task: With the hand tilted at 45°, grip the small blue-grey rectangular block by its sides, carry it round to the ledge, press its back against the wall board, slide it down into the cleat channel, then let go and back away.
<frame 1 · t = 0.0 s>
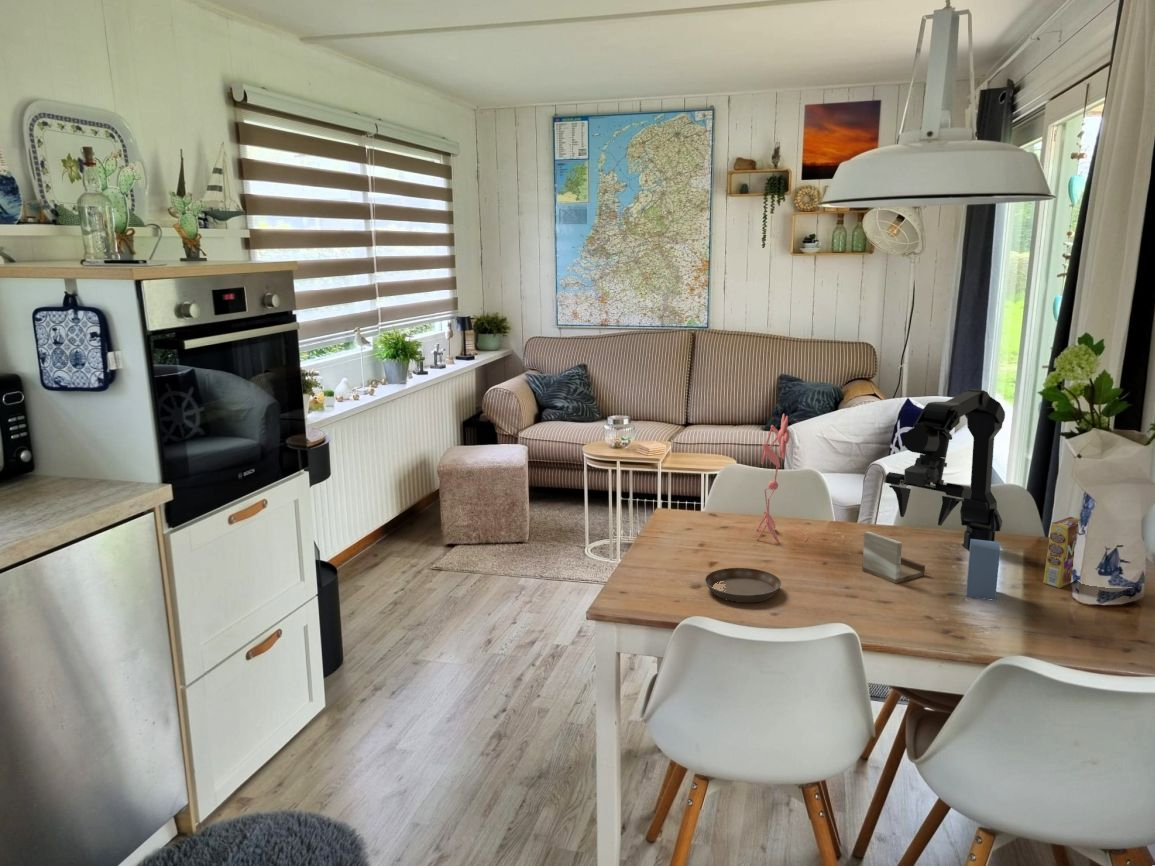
hand: (920, 521, 198), 15 cm above the table, tool pointing down, fingers open, 9 cm apart
candy box: (1061, 583, 200), on the table
wall board: (893, 572, 208), on the table
blue-grey rectangular block: (980, 593, 194), on the table
figurine: (781, 537, 236), on the table
plant saucer: (742, 592, 198), on the table
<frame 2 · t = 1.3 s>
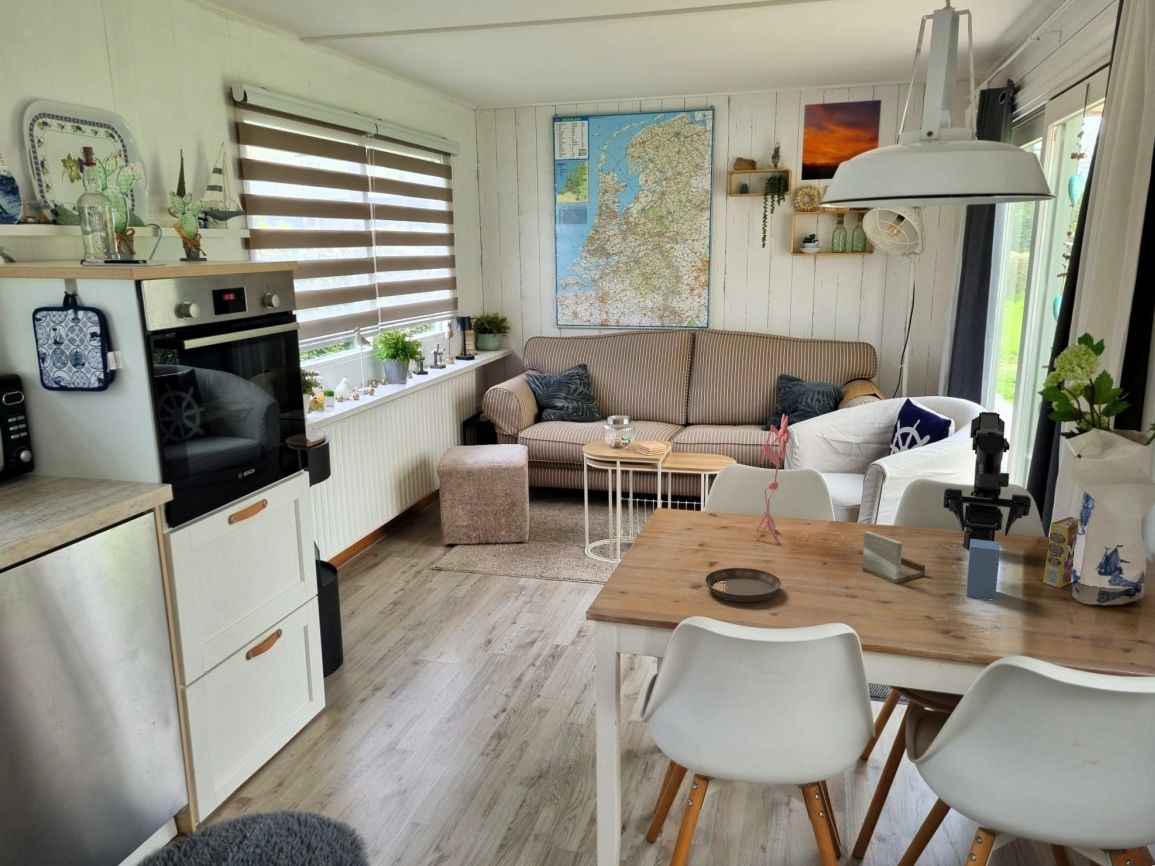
hand: (984, 532, 198), 12 cm above the table, tool tilted 45°, fingers open, 9 cm apart
nothing on the table moved.
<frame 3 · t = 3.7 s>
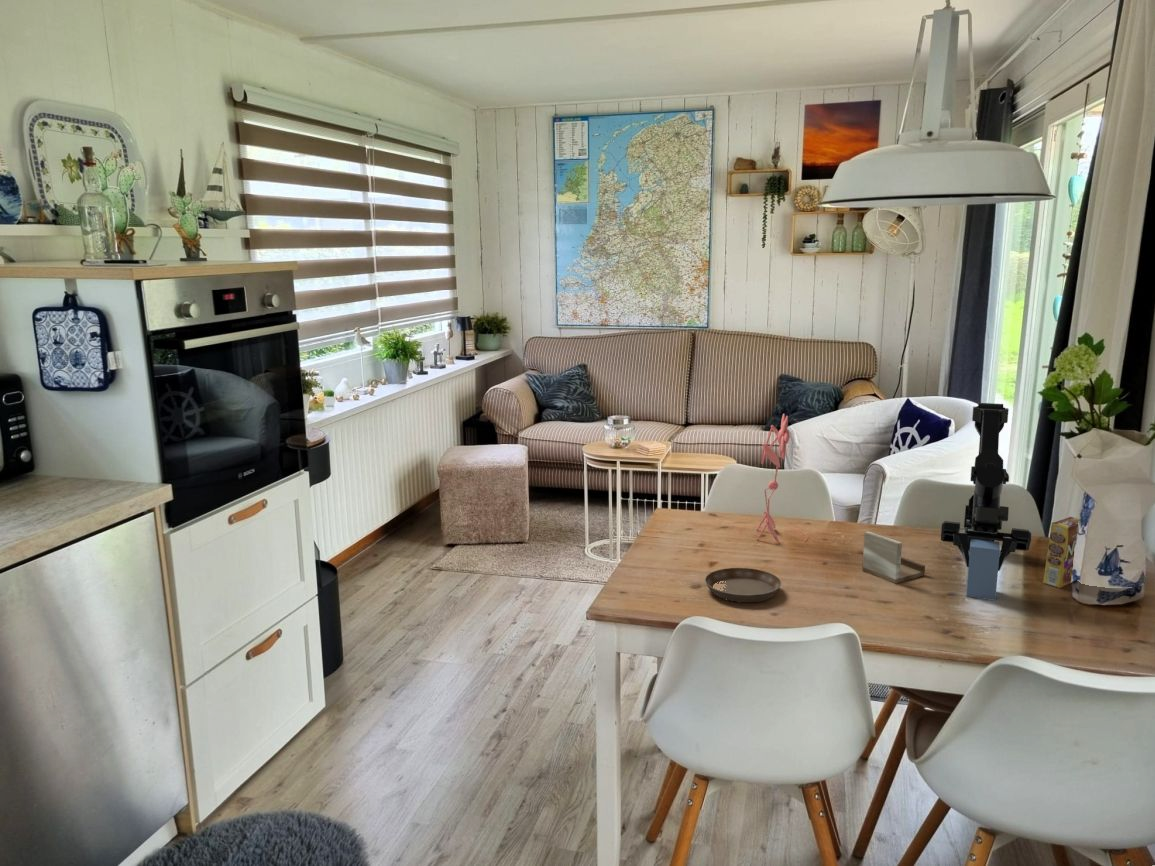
hand: (983, 568, 191), 7 cm above the table, tool tilted 45°, fingers closed on blue-grey rectangular block, 6 cm apart
blue-grey rectangular block: (980, 593, 194), on the table, touching gripper
everything else where it was.
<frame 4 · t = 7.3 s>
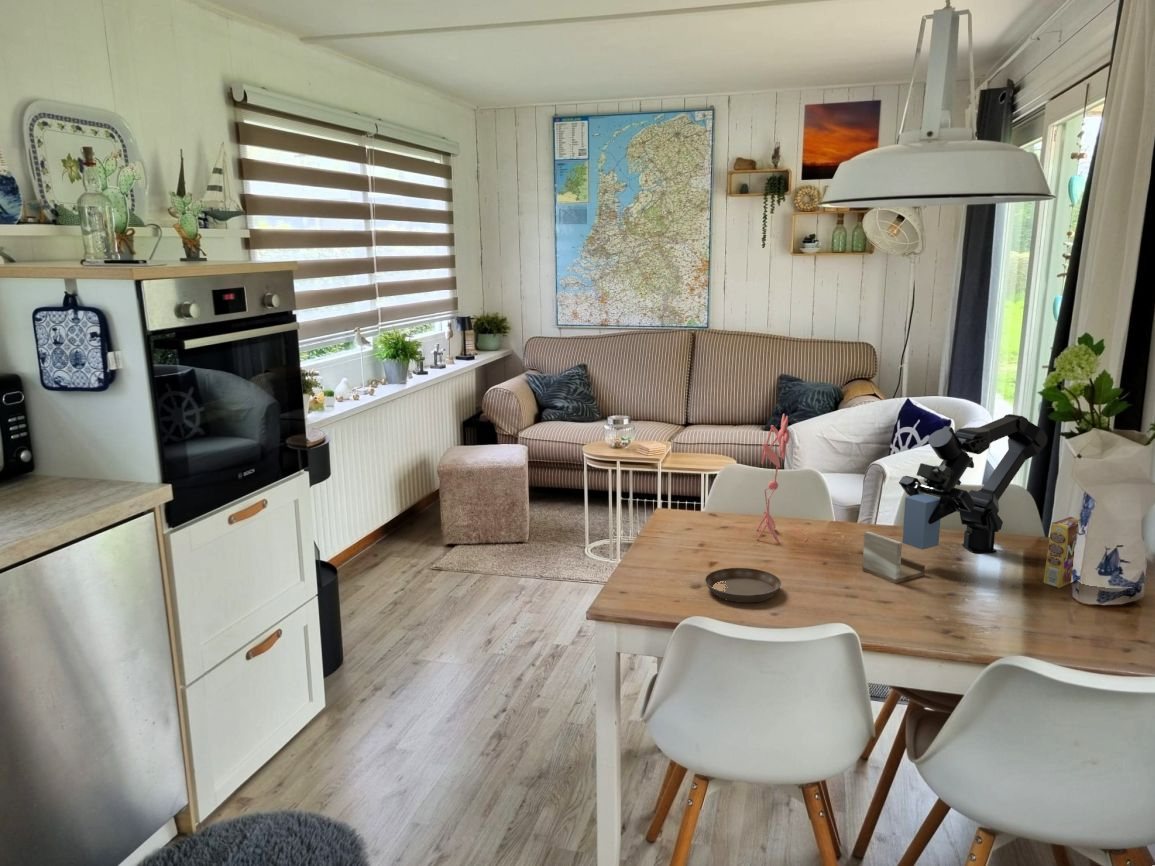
hand: (918, 519, 209), 12 cm above the table, tool tilted 45°, fingers closed on blue-grey rectangular block, 6 cm apart
blue-grey rectangular block: (920, 544, 211), point 6 cm above the table, touching gripper
everything else where it was.
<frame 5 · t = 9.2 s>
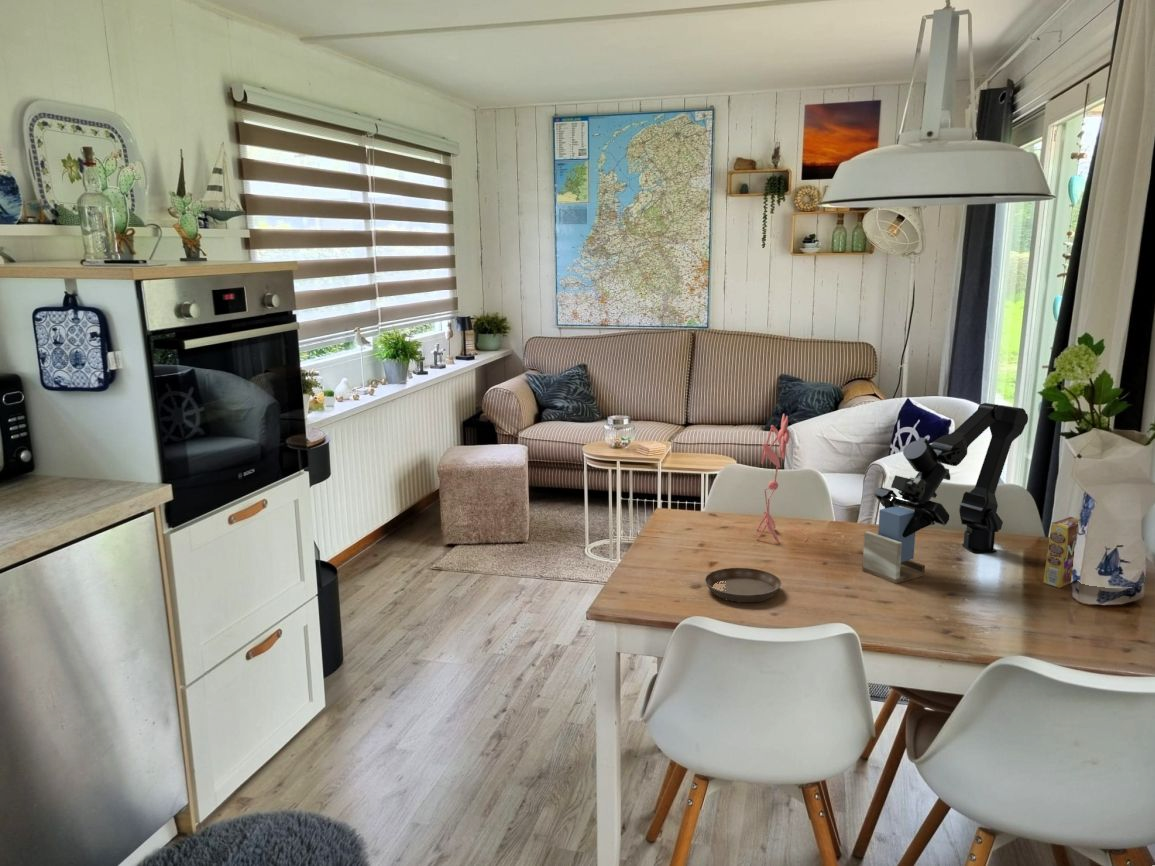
hand: (892, 532, 205), 11 cm above the table, tool tilted 45°, fingers closed on blue-grey rectangular block, 6 cm apart
blue-grey rectangular block: (895, 557, 207), point 4 cm above the table, touching gripper
everything else where it was.
when the fingers open (8 cm above the table, at t = 10.9 s): blue-grey rectangular block stays where it is, resting on wall board.
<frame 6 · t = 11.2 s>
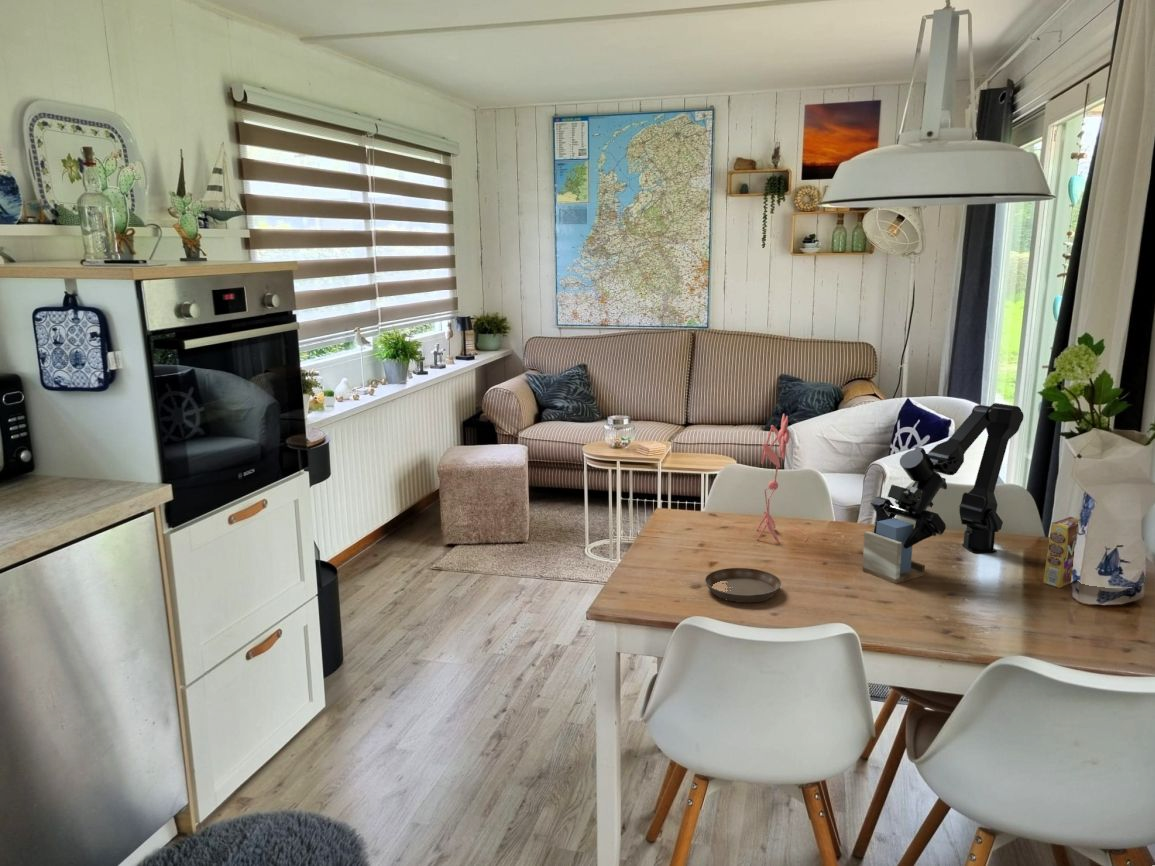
hand: (889, 542, 205), 8 cm above the table, tool tilted 45°, fingers open, 9 cm apart
blue-grey rectangular block: (892, 569, 207), point 1 cm above the table, touching wall board
everything else where it was.
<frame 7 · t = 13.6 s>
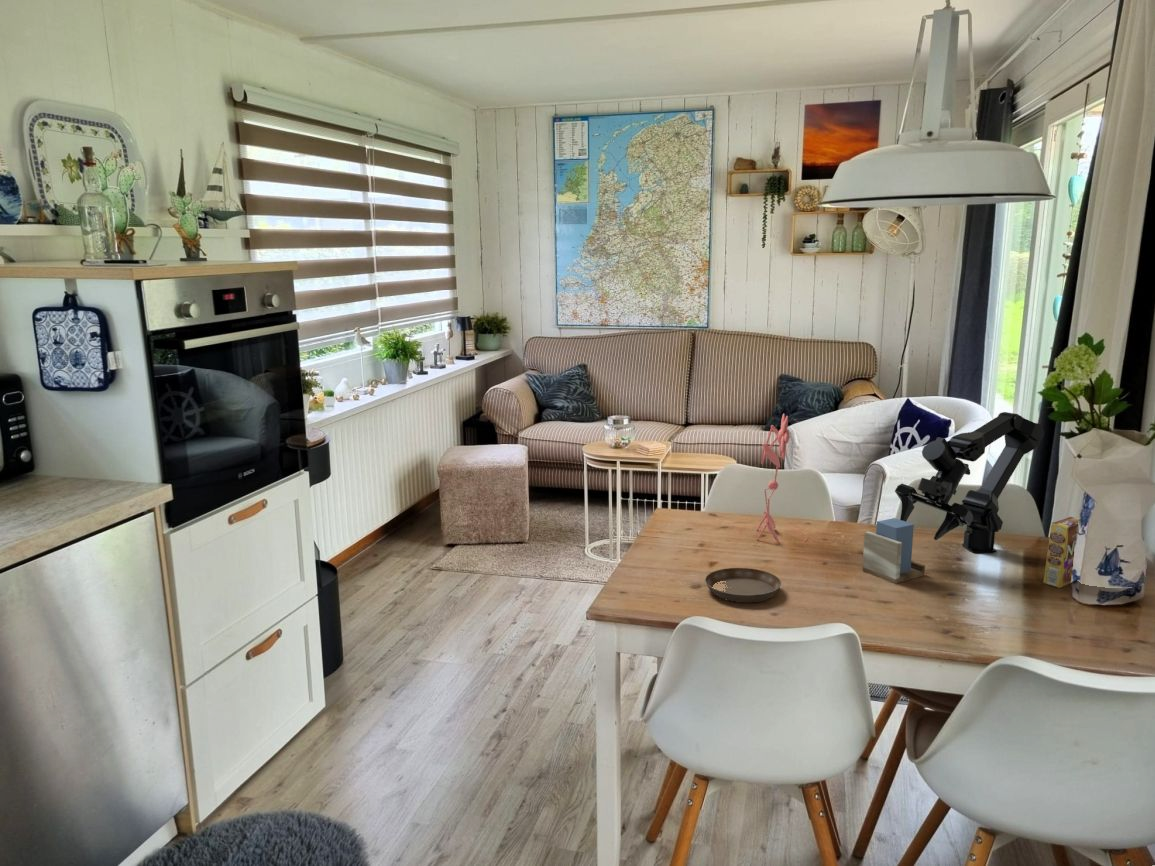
hand: (917, 532, 209), 9 cm above the table, tool tilted 40°, fingers open, 9 cm apart
nothing on the table moved.
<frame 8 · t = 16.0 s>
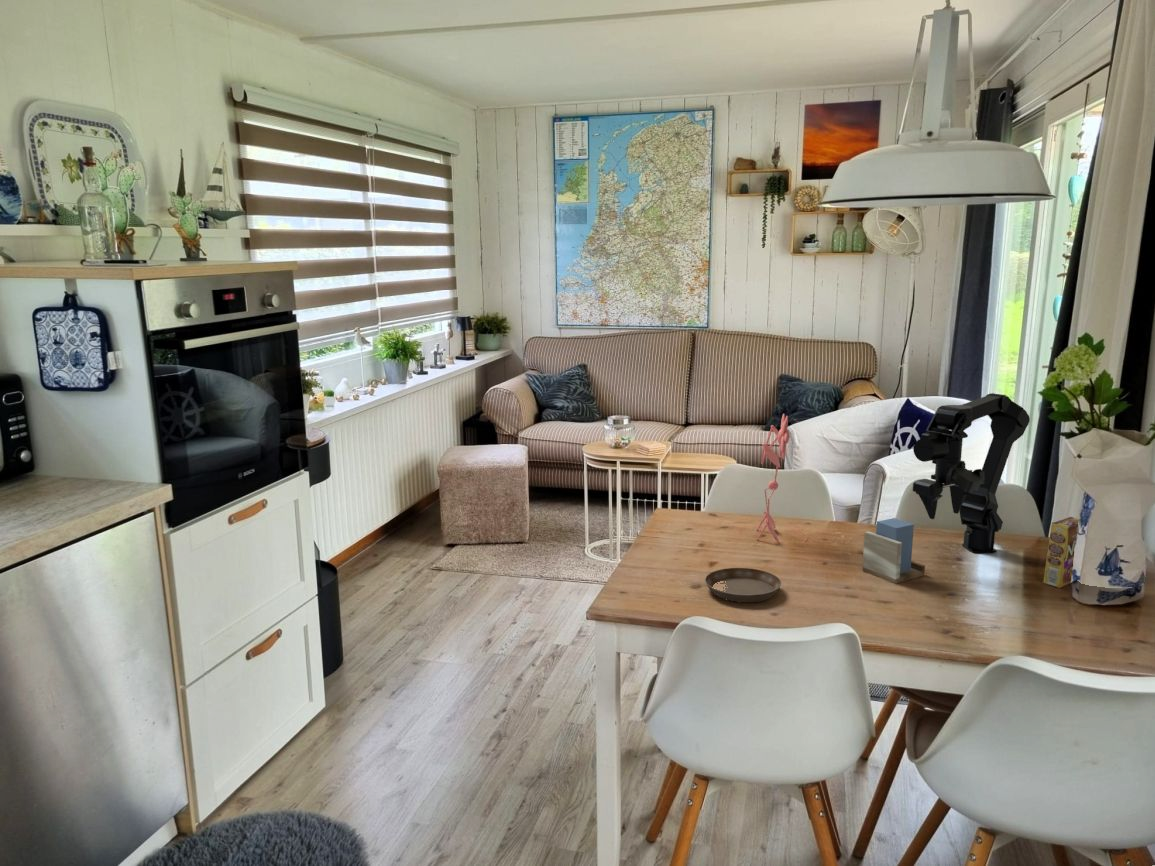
hand: (944, 516, 213), 12 cm above the table, tool pointing down, fingers open, 9 cm apart
nothing on the table moved.
at the end: blue-grey rectangular block 0.1 cm off-centre on the wall board, point 1.0 cm above the wall board's base; blue-grey rectangular block tilted 0°; the gripper is holding nothing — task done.
